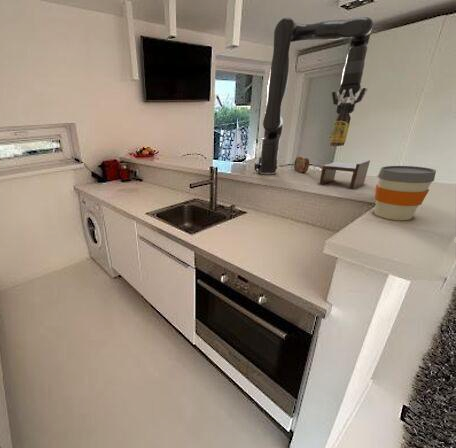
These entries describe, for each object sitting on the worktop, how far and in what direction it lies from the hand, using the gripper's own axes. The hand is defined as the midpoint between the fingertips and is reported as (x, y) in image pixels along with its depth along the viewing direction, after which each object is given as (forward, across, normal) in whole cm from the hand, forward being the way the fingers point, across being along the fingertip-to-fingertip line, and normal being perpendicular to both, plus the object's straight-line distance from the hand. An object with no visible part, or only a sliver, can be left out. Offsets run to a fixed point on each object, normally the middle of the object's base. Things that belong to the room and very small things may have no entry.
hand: (344, 113), depth 120 cm
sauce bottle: (+15, 0, 0) cm, 15 cm away
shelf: (+31, -10, +13) cm, 35 cm away
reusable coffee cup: (+32, -36, +46) cm, 66 cm away
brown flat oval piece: (+31, +19, -6) cm, 37 cm away
